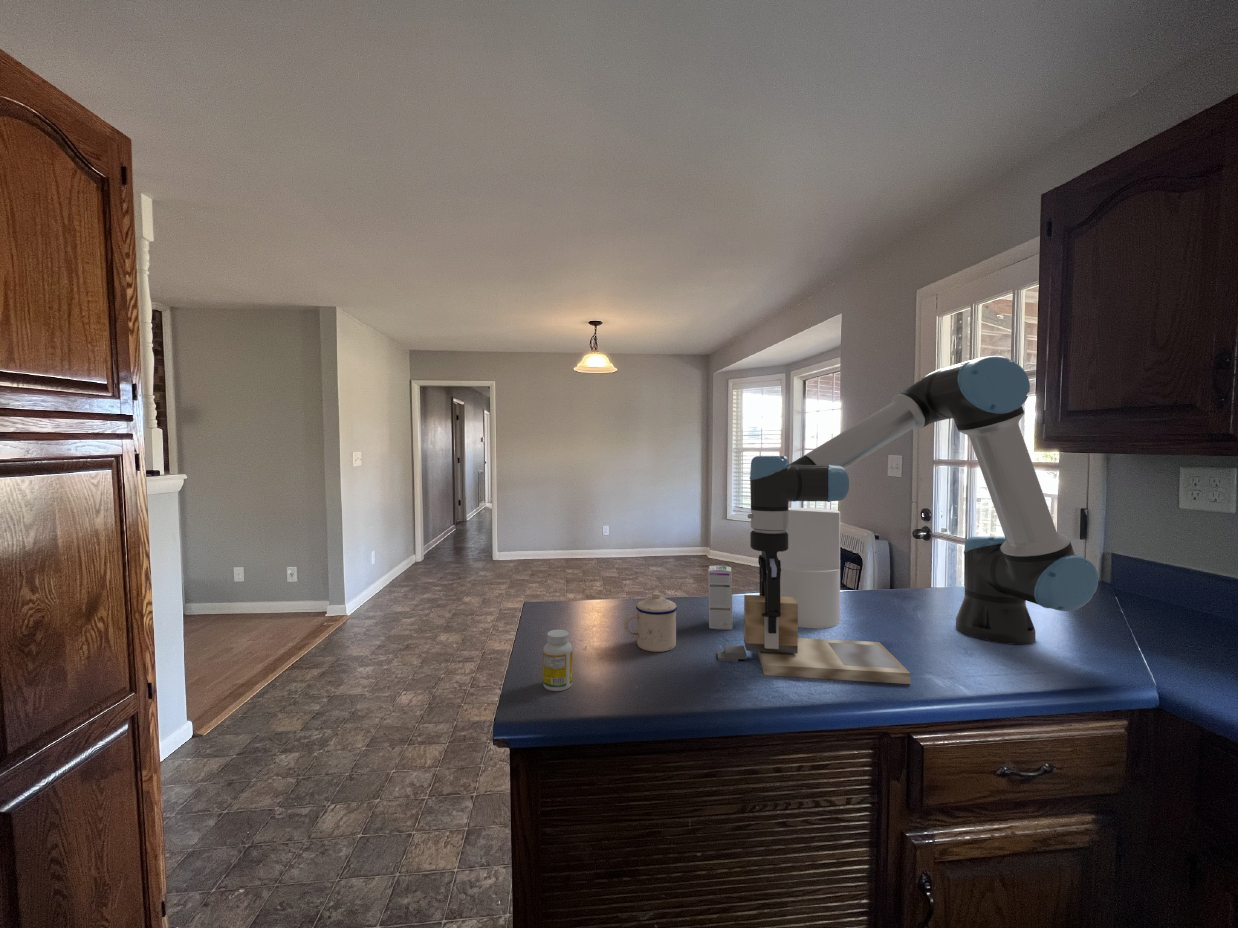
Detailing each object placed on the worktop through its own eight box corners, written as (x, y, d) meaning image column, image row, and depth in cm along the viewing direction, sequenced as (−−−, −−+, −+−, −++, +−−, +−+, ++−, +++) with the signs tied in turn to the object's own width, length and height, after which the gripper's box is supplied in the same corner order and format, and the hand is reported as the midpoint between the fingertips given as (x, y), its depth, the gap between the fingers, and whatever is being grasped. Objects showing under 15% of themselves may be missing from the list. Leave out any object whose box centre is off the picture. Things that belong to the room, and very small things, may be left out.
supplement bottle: (557, 694, 88) (556, 640, 88) (537, 685, 92) (536, 633, 92) (578, 684, 92) (578, 632, 92) (558, 676, 96) (558, 626, 96)
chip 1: (717, 650, 107) (717, 655, 107) (718, 657, 103) (718, 663, 103) (736, 651, 106) (736, 656, 106) (738, 658, 103) (738, 664, 103)
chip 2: (743, 651, 106) (743, 645, 106) (746, 659, 102) (746, 653, 102) (724, 650, 107) (724, 645, 107) (726, 658, 103) (726, 652, 103)
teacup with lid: (668, 636, 117) (668, 586, 117) (683, 650, 109) (683, 596, 109) (618, 641, 114) (618, 590, 114) (630, 656, 105) (630, 601, 105)
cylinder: (781, 604, 143) (781, 506, 143) (846, 615, 133) (846, 509, 133) (760, 619, 129) (760, 511, 129) (830, 633, 119) (831, 515, 119)
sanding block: (792, 644, 105) (793, 596, 105) (797, 653, 100) (797, 603, 100) (744, 641, 107) (744, 594, 107) (746, 650, 102) (746, 601, 102)
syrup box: (732, 630, 121) (732, 570, 121) (707, 628, 123) (707, 569, 122) (732, 622, 127) (732, 565, 127) (708, 621, 128) (708, 564, 128)
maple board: (879, 651, 108) (879, 641, 108) (910, 683, 92) (910, 672, 92) (754, 644, 112) (754, 635, 112) (764, 674, 96) (764, 664, 96)
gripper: (746, 524, 113) (746, 627, 113) (755, 536, 95) (755, 658, 95) (780, 525, 112) (780, 629, 112) (796, 537, 94) (796, 661, 94)
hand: (769, 642), depth 104 cm, fingers closed on sanding block, 5 cm apart
